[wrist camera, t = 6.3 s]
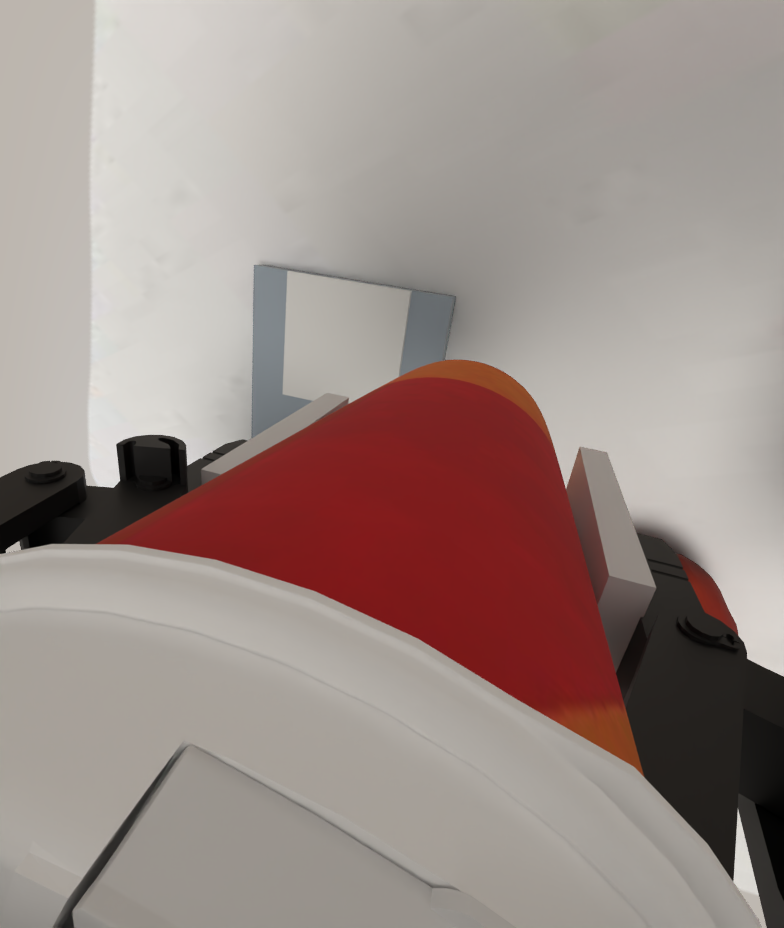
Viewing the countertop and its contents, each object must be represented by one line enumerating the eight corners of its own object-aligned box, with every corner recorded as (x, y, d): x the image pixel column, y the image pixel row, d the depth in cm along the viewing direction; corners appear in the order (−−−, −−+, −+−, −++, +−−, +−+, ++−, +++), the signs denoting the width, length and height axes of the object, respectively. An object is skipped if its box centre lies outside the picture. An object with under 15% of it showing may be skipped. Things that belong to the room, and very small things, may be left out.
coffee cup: (415, 577, 19) (133, 1302, 6) (303, 395, 18) (-447, 816, 4) (633, 499, 16) (1181, 1840, 2) (518, 265, 14) (182, 273, 1)
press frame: (263, 265, 32) (-62, 265, 15) (455, 296, 30) (337, 341, 12) (257, 552, 42) (55, 759, 24) (402, 595, 39) (293, 860, 22)
